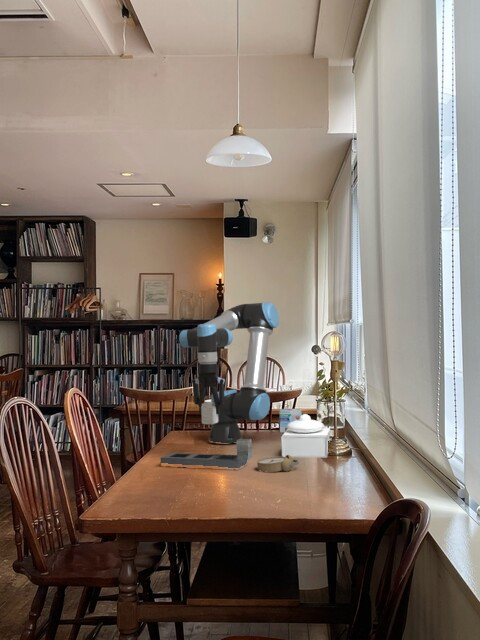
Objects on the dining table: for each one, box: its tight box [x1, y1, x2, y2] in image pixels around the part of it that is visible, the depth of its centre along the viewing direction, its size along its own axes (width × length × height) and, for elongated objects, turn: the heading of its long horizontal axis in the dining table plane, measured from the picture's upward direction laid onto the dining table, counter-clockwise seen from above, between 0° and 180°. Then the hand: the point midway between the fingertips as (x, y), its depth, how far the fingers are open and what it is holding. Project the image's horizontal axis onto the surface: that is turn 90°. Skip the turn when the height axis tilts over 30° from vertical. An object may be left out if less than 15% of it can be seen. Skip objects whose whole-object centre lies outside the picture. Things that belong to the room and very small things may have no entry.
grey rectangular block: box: [201, 401, 215, 425], centre depth 245 cm, size 4×4×8 cm
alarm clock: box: [255, 455, 299, 473], centre depth 223 cm, size 11×5×15 cm
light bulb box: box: [279, 408, 303, 434], centre depth 304 cm, size 11×7×11 cm, turn 80°
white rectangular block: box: [236, 438, 253, 460], centre depth 240 cm, size 4×4×8 cm
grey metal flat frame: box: [160, 452, 248, 468], centre depth 233 cm, size 10×31×4 cm, turn 70°
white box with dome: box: [280, 413, 331, 458], centre depth 250 cm, size 18×18×16 cm
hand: (210, 422), depth 245 cm, fingers closed on grey rectangular block, 4 cm apart
